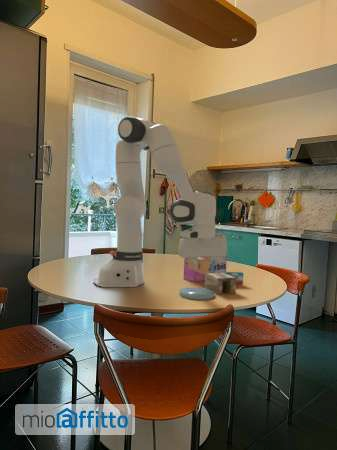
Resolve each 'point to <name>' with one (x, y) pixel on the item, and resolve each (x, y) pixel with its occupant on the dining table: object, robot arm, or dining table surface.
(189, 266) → the pinkish orange box
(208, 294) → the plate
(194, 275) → the gum box
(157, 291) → the dining table surface
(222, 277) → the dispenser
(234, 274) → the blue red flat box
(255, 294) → the dining table surface
